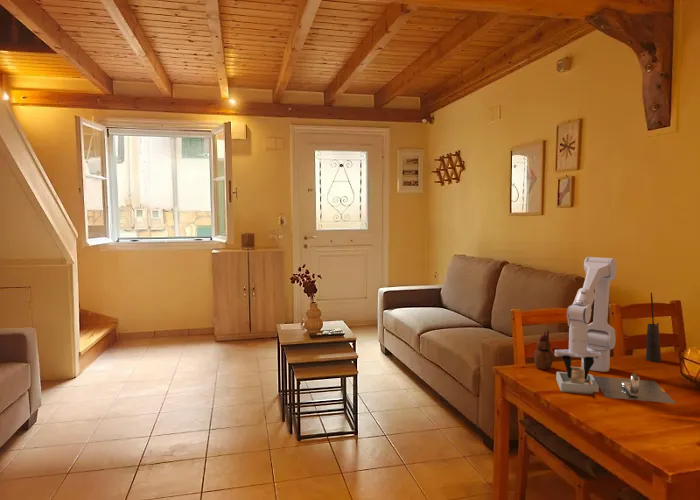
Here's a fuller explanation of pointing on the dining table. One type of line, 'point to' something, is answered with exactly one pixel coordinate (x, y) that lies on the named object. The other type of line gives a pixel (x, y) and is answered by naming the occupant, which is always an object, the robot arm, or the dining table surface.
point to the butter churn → (653, 340)
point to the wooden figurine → (543, 353)
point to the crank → (632, 385)
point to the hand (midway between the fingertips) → (576, 377)
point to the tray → (576, 388)
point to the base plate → (615, 390)
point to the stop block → (577, 375)
